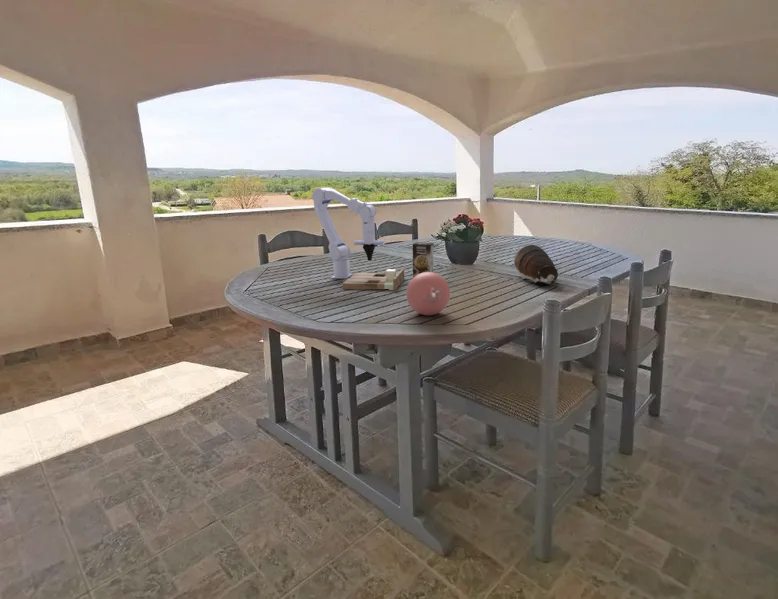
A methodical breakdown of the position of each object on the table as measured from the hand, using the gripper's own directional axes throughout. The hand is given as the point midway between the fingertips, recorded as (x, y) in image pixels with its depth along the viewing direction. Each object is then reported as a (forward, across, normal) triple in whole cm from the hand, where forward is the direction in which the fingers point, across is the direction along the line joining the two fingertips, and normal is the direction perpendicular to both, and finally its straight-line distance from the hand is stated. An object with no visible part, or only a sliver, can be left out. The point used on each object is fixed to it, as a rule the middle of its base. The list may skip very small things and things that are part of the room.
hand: (369, 260), depth 216 cm
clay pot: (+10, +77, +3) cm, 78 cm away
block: (+7, +12, -8) cm, 16 cm away
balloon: (+10, +35, -53) cm, 64 cm away
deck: (+9, +4, -8) cm, 13 cm away
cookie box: (+10, +24, +10) cm, 28 cm away
